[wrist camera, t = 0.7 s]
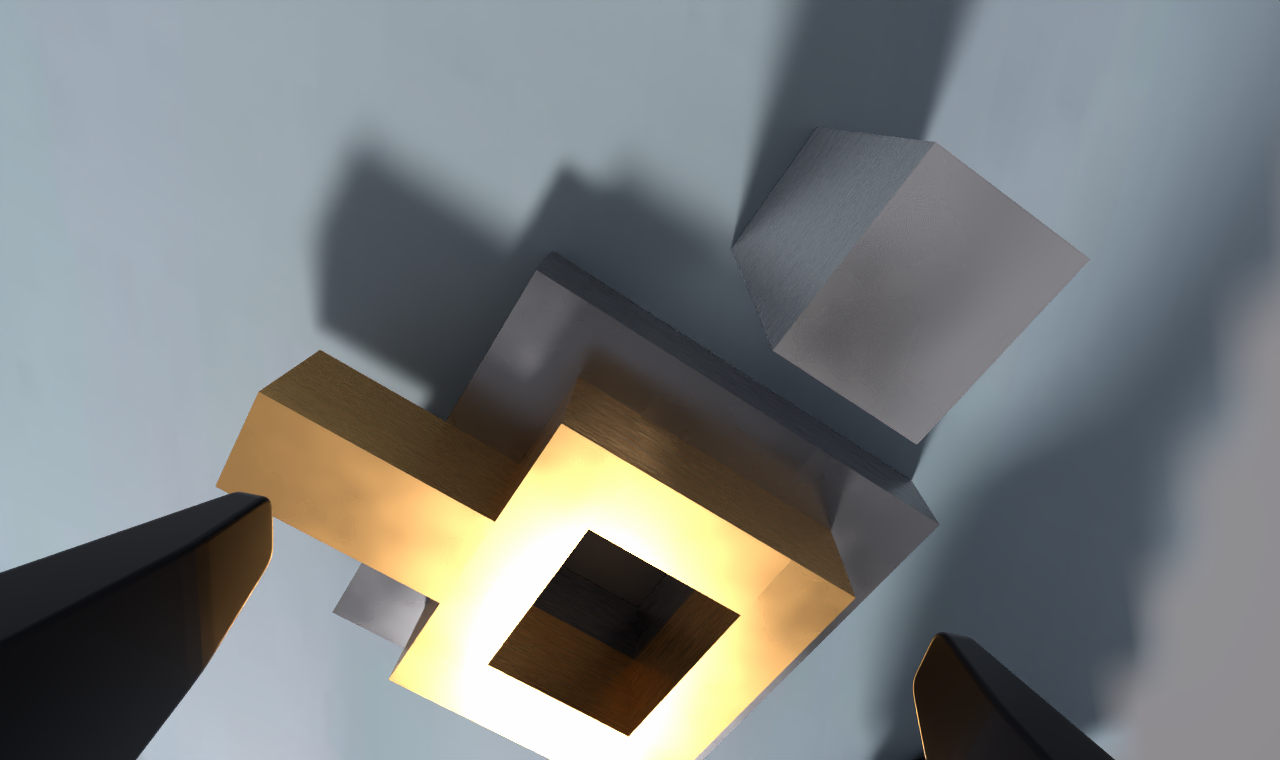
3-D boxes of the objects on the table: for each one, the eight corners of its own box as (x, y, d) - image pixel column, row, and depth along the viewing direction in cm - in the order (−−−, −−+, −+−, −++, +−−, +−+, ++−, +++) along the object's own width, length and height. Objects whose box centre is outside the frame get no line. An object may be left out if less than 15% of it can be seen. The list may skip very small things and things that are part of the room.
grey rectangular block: (906, 193, 19) (1090, 259, 11) (817, 306, 20) (917, 444, 12) (816, 127, 18) (935, 142, 10) (730, 248, 20) (773, 350, 11)
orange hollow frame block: (911, 481, 22) (982, 591, 17) (677, 727, 27) (677, 870, 22) (433, 174, 19) (346, 198, 14) (263, 512, 24) (153, 621, 19)
